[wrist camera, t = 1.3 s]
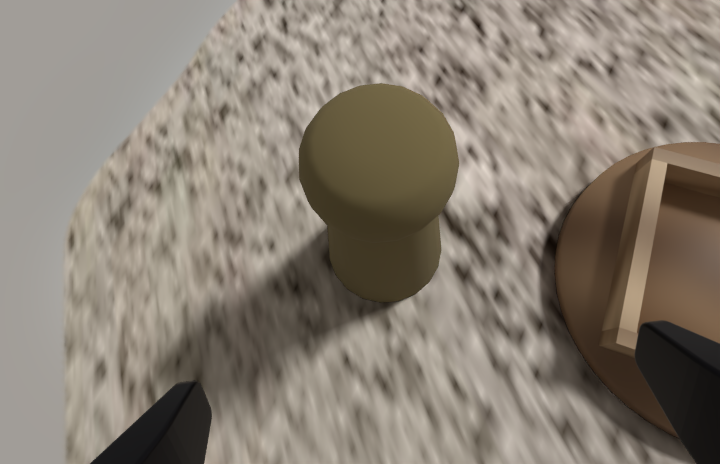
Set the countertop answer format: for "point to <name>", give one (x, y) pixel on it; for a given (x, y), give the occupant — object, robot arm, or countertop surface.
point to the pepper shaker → (380, 186)
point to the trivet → (642, 261)
